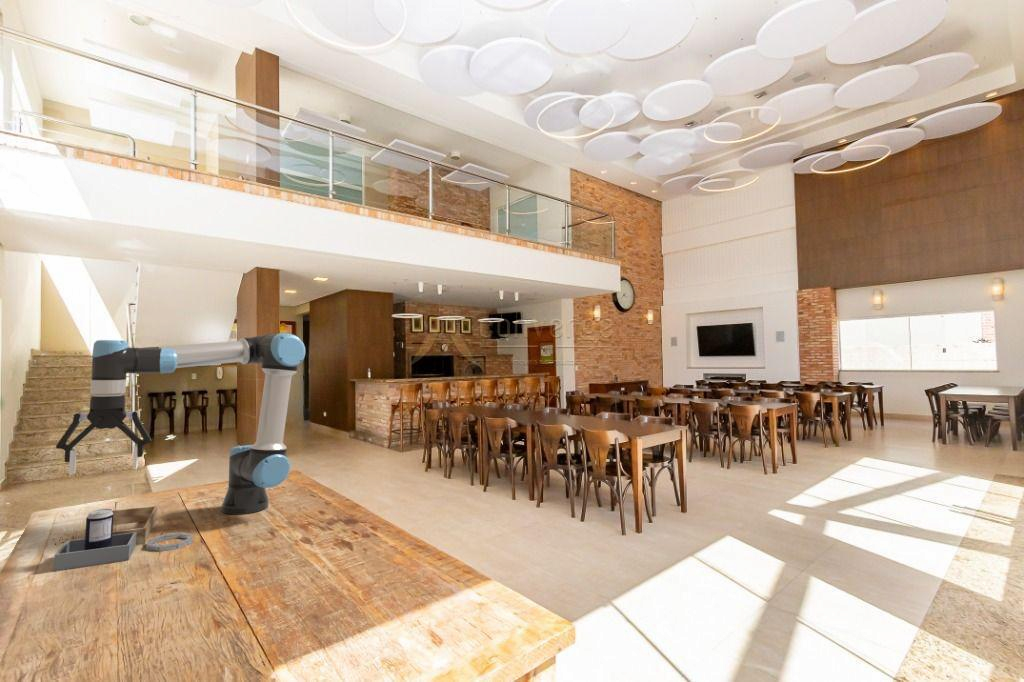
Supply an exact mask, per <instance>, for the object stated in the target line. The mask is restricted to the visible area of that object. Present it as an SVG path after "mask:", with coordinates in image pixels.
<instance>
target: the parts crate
mask: <svg viewBox="0 0 1024 682" xmlns="http://www.w3.org/2000/svg"><path fill="white" fill-rule="evenodd" d="M112 512H113V514H114V516H113V526H114V525H116V526H117V525H123V524H132V523H133V524H134V523H140V522H141V523H142V522H146V523H145V525H144V526H143V527H141V528H133V529H124V530H123V529H122V530H116V531H114V530H113V533H112V535H116V534H124V533H132V532H137V536H136V546H138V545H145V544H147V543H146V542H147V541H148V539H149V536H150V534H151V533H152V529H153V528H154V525H155V523H156V521H157V517H158V505H153V506H152V505H151V506H144V507H135V508H134V507H133V508H125V509H115V510H113V509H112Z"/></svg>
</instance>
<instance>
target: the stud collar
mask: <svg viewBox="0 0 1024 682" xmlns="http://www.w3.org/2000/svg"><path fill="white" fill-rule="evenodd" d="M173 539H184V540H180V541H178V542H174V543H168V544H158V543H159V542H162V541H165V540H173ZM193 540H194V533H192V532H191V533H190V532H189V533H188V532H179V531H178V532H172V533H166V534H161V535H157V536H155V537H152V538H150V539H147V541H146V542H147V543H145V544H146V545H145V549H146V550H147V551H153V552H162V551H163V552H164V551H171V550H177V549H180V548H182V547H185V546H188V545H191V544H192V543H193Z"/></svg>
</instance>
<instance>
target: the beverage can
mask: <svg viewBox="0 0 1024 682" xmlns="http://www.w3.org/2000/svg"><path fill="white" fill-rule="evenodd" d="M112 511H113V509H111V508H99V509H94V510H91V511H89V512H88V515H87V516H86V520H85V532H84V533H85V534H84V535H85V536H84V537H85V549H84V550H92V549H99V548H107V547H112V533H113V532H114V529H113V528H114V525H113V516H114V514H113V512H112Z"/></svg>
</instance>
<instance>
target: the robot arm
mask: <svg viewBox="0 0 1024 682" xmlns="http://www.w3.org/2000/svg"><path fill="white" fill-rule="evenodd" d="M305 356H306V346H305V344H304V342H303V341H302V340H301V338H300V337H298V336H297V335H295V334H293V333H292V334H291V333H286V332H285V333H284V332H283V333H282V332H280V333H267V334H262V335H256V336H250V337H242V338H239V339H238V340H237V341H236V340H233V341H221V342H207V343H193V344H192V343H191V344H177V345H176V344H175V345H164V346H147V347H131V346H130V347H129V343H128V341H127V340H116V339H114V340H112V339H110V340H109V339H98V340H96V341H95V342H94V343H93V347H92V354H91V358H92V359H91V360H92V361H91V380H90V394H91V396H90V397H89V398H90V399H89V411H88V413H81V412H77V413H74V414H73V420H72V422H71V423H70V425H69V426H68V428H67V429H66V431H65V432H64V434H63V435H62V436H61V438H60V439H59V441H58V442H57V444H56V445H55V449H57V450H59V449H60V450H63V451H64V462H65V463H69V464H68V475H69V476H73V475H74V474H75V473H76V467H77V466H76V465H77V464H76V463H77V448H74V447H75V446H77V445H78V443H80V442H81V441H82V440H83V439H84V438H85V437H87V435H88V434H89V433H91V432H92V431H93V430H94V429H95V428H96V429H99V430H104V429H110V430H111V429H115V428H117V429H119V430H120V431H122V432H123V433H124V434H125V435H126V437H128V438H129V439H130V440H132V442H134V443H135V445H134V446H133V457H132V459H133V462H132V470H137V469H138V466H139V458H141V457H142V456H143V455H144V446H145V445H147V444H149V443H151V441H152V437H151V436H150V434H149V433H148V430H147V429H146V427H145V426H144V424H143V423H142V421H141V419H140V413H139V411H138V410H134V411H131V412H126V396H125V395H124V394H125V393H127V392H126V390H127V374H161V375H162V374H171V373H174V372H175V371H176V369H180V368H181V369H182V368H190V367H198V366H199V367H200V366H201V367H203V366H210V365H211V366H212V365H220V364H221V365H222V364H231V363H240V364H242V365H249V364H250V365H252V364H254V365H255V364H256V365H257V364H258V365H261V370H262V372H263V373H264V374H265V375H264V381H263V382H264V384H263V389H262V390H263V392H262V398H261V403H260V413H259V417H258V418H259V420H258V426H257V431H256V432H257V433H256V441H255V442H254V443H253V444H247V445H245V444H244V445H239V446H234V447H231V449H230V452H229V457H228V458H229V465H228V466H229V468H228V486H227V491H226V493H225V496H224V498H223V501H222V504H221V512H222V513H224V514H226V515H245V514H246V515H248V514H252V513H256V512H257V513H258V512H261V511H263V510H265V509H267V508H268V507H269V504H270V503H269V496H268V494H267V490H266V488H267V489H270V488H274V487H278V486H279V485H280V484H282V483H283V482H284V481H285V480H286V479H287V477H288V476H289V473H290V472H291V463H290V461H289V459H288V458H287V451H288V450H287V449H288V448H287V447H288V446H287V445H285V443H284V439H285V438H284V436H285V430H286V429H285V428H286V422H287V415H288V406H289V399H290V393H291V383H292V377H293V376H294V375H295V374H297V372H298V366H299V364H301V363H302V362H303V360H304V359H305ZM126 418H128V419H129V420H132V422H133V424H134V426H135V428H136V429H137V430H138V433H140V435H141V437H142V439H141V437H139V436H138V435H137V434H136V433H135V432H134V431H133V430H132V429H131V428H130V427H129V426H128V425H127V424H126V423H125V422H124V420H125V419H126ZM85 419H86V420H88V421H89V422H90V424H89V425H88V426H87V427H86V428H85V429H84V430H83V431H82V432H80V433H79V434H78V435H77V436H76V437H75V438H73V440H71V442H70V443H68V441H69V439H70V438H71V436H72V435H73V433H74V432H75V431H76V430H77V428H78V426H79V425H80V423H81V422H83V421H84V420H85ZM67 443H68V444H67Z"/></svg>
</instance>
